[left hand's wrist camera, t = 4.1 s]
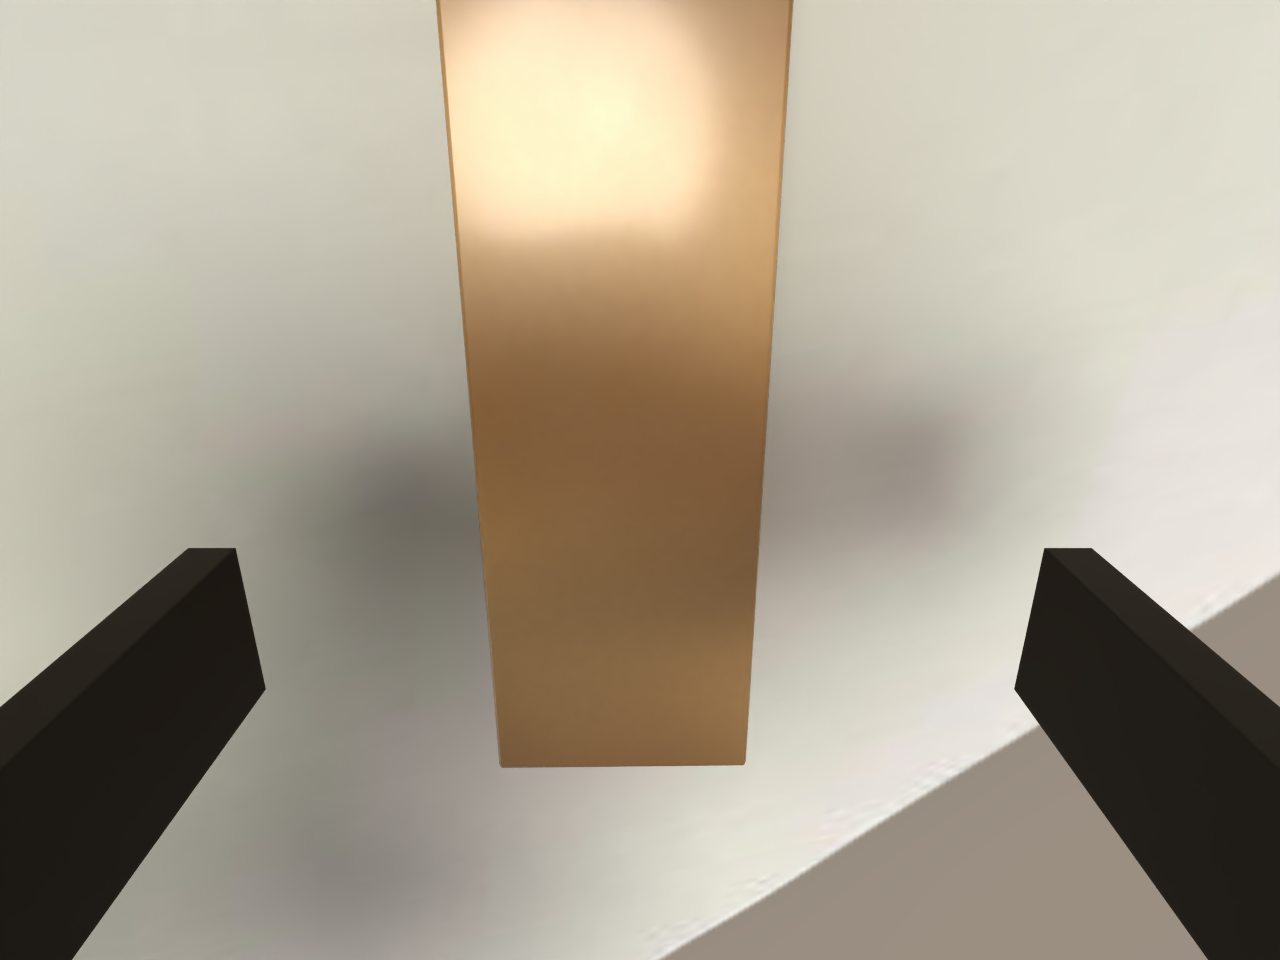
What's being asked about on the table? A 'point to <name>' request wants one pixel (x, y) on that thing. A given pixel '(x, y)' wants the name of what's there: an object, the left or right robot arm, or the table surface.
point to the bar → (618, 359)
